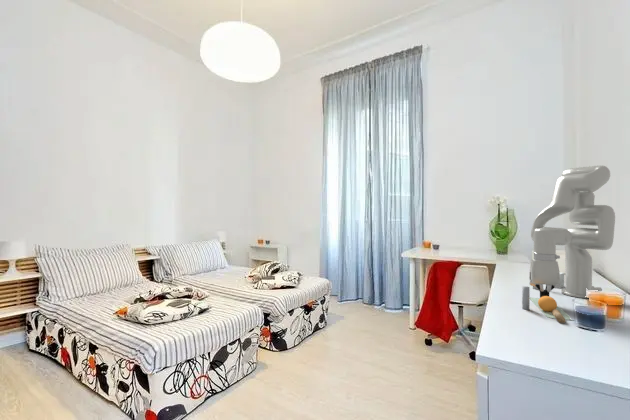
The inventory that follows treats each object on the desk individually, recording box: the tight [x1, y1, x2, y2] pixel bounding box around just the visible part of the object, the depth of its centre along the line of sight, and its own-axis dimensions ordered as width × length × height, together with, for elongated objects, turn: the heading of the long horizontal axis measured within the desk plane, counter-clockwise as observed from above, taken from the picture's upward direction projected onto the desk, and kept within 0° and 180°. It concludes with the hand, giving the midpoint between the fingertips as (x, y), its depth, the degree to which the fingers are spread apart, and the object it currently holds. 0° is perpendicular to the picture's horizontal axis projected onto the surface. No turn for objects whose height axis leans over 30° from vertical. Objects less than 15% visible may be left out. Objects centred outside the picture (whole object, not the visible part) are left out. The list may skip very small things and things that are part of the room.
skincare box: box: [559, 271, 565, 289], centre depth 160 cm, size 6×6×7 cm
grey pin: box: [521, 285, 531, 311], centre depth 124 cm, size 2×2×9 cm
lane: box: [530, 297, 572, 321], centre depth 126 cm, size 28×8×1 cm, turn 157°
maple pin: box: [552, 309, 567, 324], centre depth 113 cm, size 2×2×9 cm
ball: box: [538, 295, 558, 312], centre depth 121 cm, size 6×6×6 cm
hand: (544, 300), depth 131 cm, fingers closed
